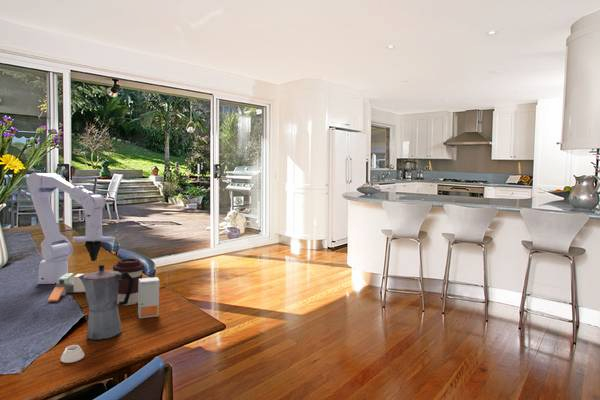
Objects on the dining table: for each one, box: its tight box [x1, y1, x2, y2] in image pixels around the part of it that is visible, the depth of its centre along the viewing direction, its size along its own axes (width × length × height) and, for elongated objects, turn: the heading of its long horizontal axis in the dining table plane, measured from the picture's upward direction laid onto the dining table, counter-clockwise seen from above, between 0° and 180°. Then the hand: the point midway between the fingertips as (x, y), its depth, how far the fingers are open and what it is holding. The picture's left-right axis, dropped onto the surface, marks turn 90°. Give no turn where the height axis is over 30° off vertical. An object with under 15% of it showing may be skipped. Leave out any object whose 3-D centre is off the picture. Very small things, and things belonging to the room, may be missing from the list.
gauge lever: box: [47, 284, 66, 302], centre depth 135 cm, size 3×8×1 cm, turn 11°
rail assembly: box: [57, 272, 86, 295], centre depth 144 cm, size 18×8×6 cm, turn 101°
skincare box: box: [137, 276, 161, 319], centre depth 124 cm, size 6×4×12 cm
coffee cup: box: [112, 257, 145, 306], centre depth 135 cm, size 10×10×15 cm
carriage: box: [74, 273, 85, 292], centre depth 144 cm, size 4×4×6 cm
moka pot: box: [78, 264, 134, 341], centre depth 109 cm, size 10×15×20 cm, turn 95°
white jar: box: [60, 344, 85, 364], centre depth 95 cm, size 5×3×5 cm
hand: (93, 260), depth 150 cm, fingers closed
